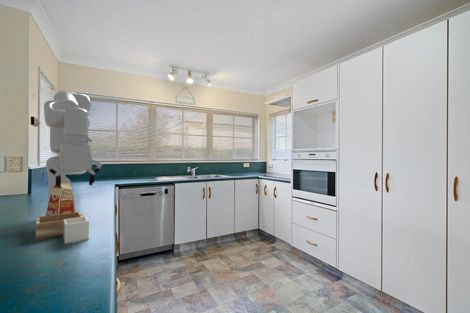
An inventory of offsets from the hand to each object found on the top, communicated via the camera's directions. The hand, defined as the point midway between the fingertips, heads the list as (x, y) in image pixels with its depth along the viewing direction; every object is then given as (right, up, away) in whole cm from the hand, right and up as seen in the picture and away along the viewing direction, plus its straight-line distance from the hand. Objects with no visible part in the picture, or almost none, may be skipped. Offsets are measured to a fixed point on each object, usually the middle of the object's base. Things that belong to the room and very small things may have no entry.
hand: (75, 186), depth 83 cm
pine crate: (-12, -20, +8) cm, 25 cm away
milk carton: (-21, -21, +20) cm, 36 cm away
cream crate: (0, -20, +1) cm, 20 cm away
